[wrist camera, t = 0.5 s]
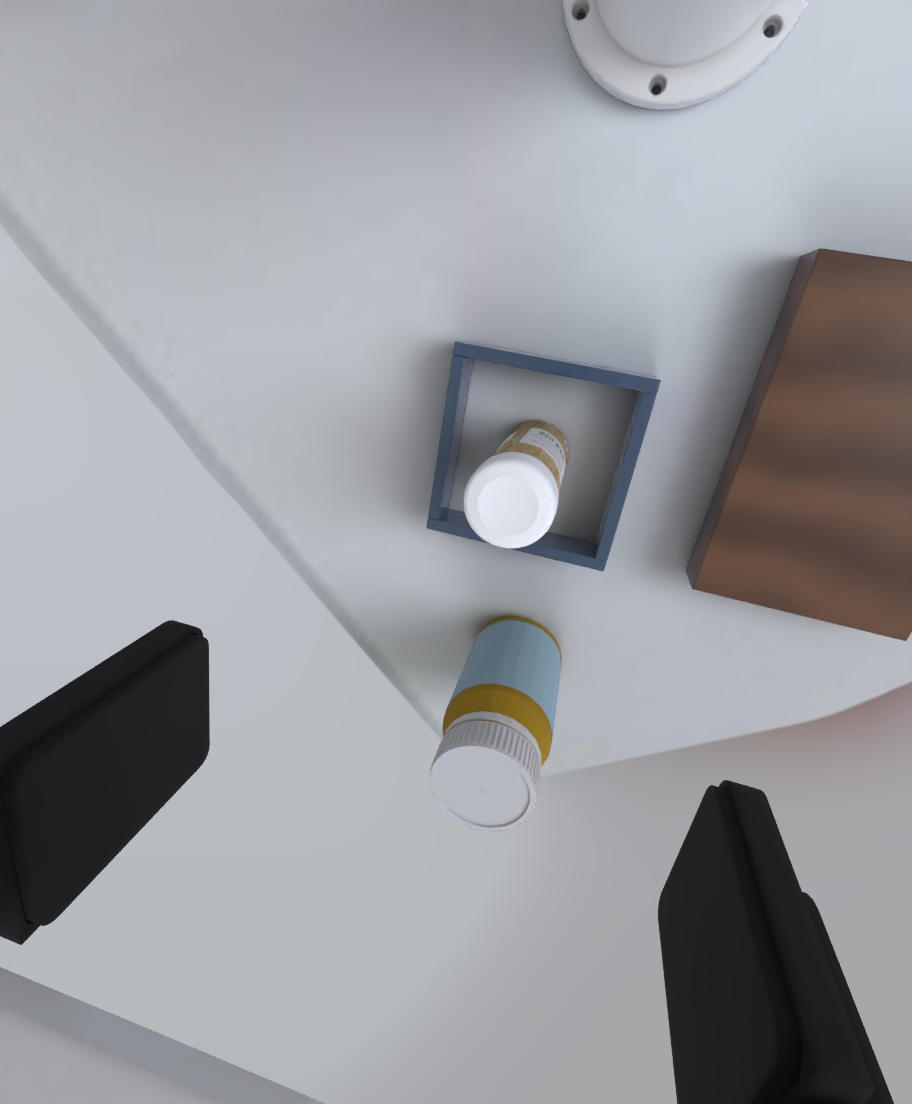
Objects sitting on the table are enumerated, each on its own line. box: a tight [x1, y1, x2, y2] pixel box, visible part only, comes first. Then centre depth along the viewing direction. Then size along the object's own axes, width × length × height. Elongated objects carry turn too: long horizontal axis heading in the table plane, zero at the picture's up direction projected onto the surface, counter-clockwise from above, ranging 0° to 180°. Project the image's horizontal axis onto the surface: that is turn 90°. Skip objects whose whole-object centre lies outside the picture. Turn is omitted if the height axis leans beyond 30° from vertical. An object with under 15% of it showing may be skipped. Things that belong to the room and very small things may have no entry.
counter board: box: [686, 249, 912, 641], centre depth 33 cm, size 20×13×3 cm, turn 170°
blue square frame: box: [427, 341, 661, 571], centre depth 37 cm, size 13×13×3 cm
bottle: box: [430, 617, 561, 832], centre depth 38 cm, size 7×7×15 cm
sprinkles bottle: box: [463, 420, 569, 548], centre depth 33 cm, size 5×5×14 cm
